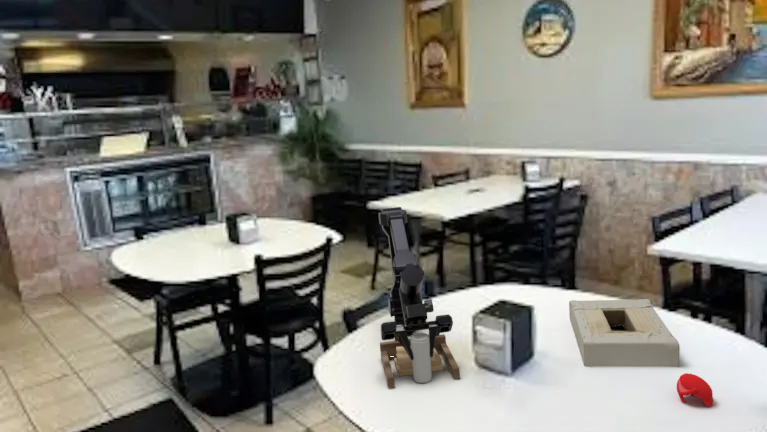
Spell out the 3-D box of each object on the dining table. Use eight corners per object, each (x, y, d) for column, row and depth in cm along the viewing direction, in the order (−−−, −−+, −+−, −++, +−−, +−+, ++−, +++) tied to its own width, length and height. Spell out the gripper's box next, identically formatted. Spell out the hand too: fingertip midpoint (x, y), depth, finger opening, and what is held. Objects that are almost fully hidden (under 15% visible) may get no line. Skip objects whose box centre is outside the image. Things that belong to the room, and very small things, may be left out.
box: (681, 369, 148) (648, 319, 179) (681, 340, 147) (648, 295, 178) (584, 371, 153) (568, 321, 184) (583, 343, 151) (567, 298, 182)
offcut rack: (381, 359, 168) (379, 342, 167) (445, 350, 170) (444, 334, 169) (388, 388, 151) (386, 370, 150) (460, 378, 153) (458, 360, 152)
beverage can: (410, 382, 153) (407, 339, 151) (418, 374, 157) (414, 331, 155) (427, 385, 151) (424, 341, 148) (435, 376, 155) (431, 333, 152)
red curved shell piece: (667, 387, 133) (689, 383, 128) (676, 370, 137) (698, 365, 132) (691, 415, 133) (714, 411, 128) (700, 397, 136) (723, 393, 131)
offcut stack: (394, 362, 165) (392, 347, 164) (436, 356, 166) (435, 341, 165) (398, 376, 157) (396, 360, 156) (442, 370, 158) (441, 354, 157)
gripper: (377, 293, 152) (386, 351, 144) (448, 285, 154) (461, 341, 145) (377, 312, 162) (385, 367, 153) (444, 303, 163) (456, 357, 155)
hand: (422, 358), depth 151 cm, fingers closed on beverage can, 5 cm apart
